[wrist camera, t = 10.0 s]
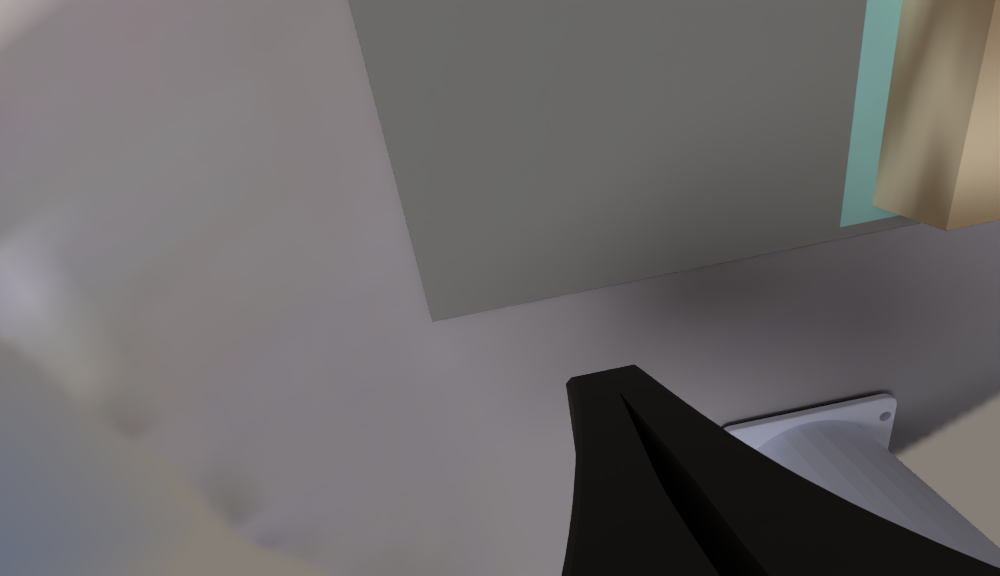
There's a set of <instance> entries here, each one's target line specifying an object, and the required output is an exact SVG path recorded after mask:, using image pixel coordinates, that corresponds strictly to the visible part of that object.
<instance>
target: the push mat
mask: <svg viewBox="0 0 1000 576" xmlns="http://www.w3.org/2000/svg"><path fill="white" fill-rule="evenodd" d="M349 4H350V8H351V12H352V16H353V20H354V23H355V27H356V31H357V35H358V39H359V42H360V46H361V50H362V54H363V58H364V62H365V65H366V69H367V73H368V77H369V81H370V85H371V88H372V92H373V96H374V100H375V104H376V108H377V111H378V115H379V119H380V123H381V127H382V131H383V134H384V138H385V142H386V146H387V150H388V153H389V157H390V161H391V165H392V169H393V173H394V176H395V180H396V184H397V188H398V192H399V196H400V199H401V203H402V207H403V211H404V215H405V219H406V222H407V226H408V230H409V234H410V238H411V242H412V245H413V249H414V253H415V257H416V261H417V265H418V268H419V272H420V276H421V280H422V284H423V287H424V291H425V295H426V299H427V303H428V307H429V310H430V314H431V318H432V322H434V321H439V320H444V319H449V318H454V317H458V316H463V315H468V314H473V313H478V312H483V311H488V310H493V309H498V308H503V307H508V306H513V305H518V304H523V303H528V302H533V301H538V300H542V299H547V298H552V297H557V296H562V295H567V294H572V293H577V292H582V291H587V290H592V289H597V288H602V287H607V286H612V285H617V284H621V283H626V282H631V281H636V280H641V279H646V278H651V277H656V276H661V275H666V274H671V273H676V272H681V271H686V270H691V269H696V268H701V267H705V266H710V265H715V264H720V263H725V262H730V261H735V260H740V259H745V258H750V257H755V256H760V255H765V254H770V253H775V252H780V251H785V250H789V249H794V248H799V247H804V246H809V245H814V244H819V243H824V242H829V241H834V240H839V239H844V238H849V237H854V236H859V235H864V234H868V233H873V232H878V231H883V230H888V229H893V228H898V227H903V226H908V225H913V224H918V223H921V222H918V221H915V220H913V219H910V218H907V217H904V216H901V215H898V214H895V213H892V212H889V211H886V210H883V209H880V208H878V207H875V206H872V205H873V198H874V192H875V185H876V178H877V171H878V164H879V157H880V150H881V143H882V137H883V130H884V123H885V116H886V109H887V102H888V95H889V89H890V82H891V75H892V68H893V61H894V54H895V47H896V40H897V34H898V27H899V20H900V13H901V6H902V0H349Z"/></svg>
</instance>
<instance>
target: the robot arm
mask: <svg viewBox="0 0 1000 576" xmlns="http://www.w3.org/2000/svg"><path fill="white" fill-rule="evenodd" d="M566 387H567V394H568V401H569V409H570V416H571V423H572V430H573V437H574V444H575V451H576V466H575V480H574V494H573V505H572V514H571V522H570V529H569V536H568V542H567V549H566V555H565V561H564V566H563V571H562V576H1000V548H999V547H997V546H996V545H995V544H994V543H993V542H992V541H990V540H989V539H988V538H987V537H986V536H985V535H984V534H983V533H982V532H980V531H979V530H978V529H977V528H976V527H975V526H973V525H972V524H971V523H970V522H969V521H968V520H967V519H966V518H964V517H963V516H962V515H961V514H960V513H959V512H958V511H956V510H955V509H954V508H953V507H952V506H951V505H950V504H948V503H947V502H946V501H945V500H944V499H943V498H942V497H940V496H939V495H938V494H937V493H936V492H935V491H934V490H933V489H931V488H930V487H929V486H928V485H927V484H926V483H925V482H923V481H922V480H921V479H920V478H919V477H918V476H917V475H915V474H914V473H913V472H912V471H911V470H910V469H909V468H907V467H906V466H905V465H904V464H903V463H902V462H901V461H899V460H898V459H897V458H896V457H895V456H894V455H893V454H892V453H890V452H889V451H888V446H889V441H890V437H891V432H892V427H893V422H894V417H895V412H896V407H897V401H896V399H895V398H893V397H892V396H891V395H889V394H879V395H874V396H869V397H864V398H860V399H855V400H850V401H845V402H841V403H836V404H831V405H826V406H822V407H817V408H812V409H807V410H803V411H798V412H793V413H788V414H783V415H779V416H774V417H769V418H764V419H760V420H755V421H750V422H745V423H741V424H736V425H731V426H728V427H725V428H724V429H723V428H722V427H720V426H719V425H717V424H716V423H714V422H713V421H711V420H710V419H708V418H707V417H705V416H704V415H702V414H701V413H700V412H698V411H697V410H695V409H694V408H693V407H691V406H690V405H688V404H687V403H686V402H684V401H683V400H682V399H680V398H679V397H677V396H676V395H675V394H673V393H672V392H671V391H669V390H668V389H667V388H665V387H664V386H663V385H661V384H660V383H659V382H657V381H656V380H655V379H653V378H652V377H651V376H649V375H648V374H647V373H646V372H644V371H643V370H641V369H640V368H639V367H637V366H636V365H630V366H625V367H620V368H615V369H610V370H606V371H601V372H596V373H591V374H586V375H581V376H576V377H572V378H570V380H569V381H568V382H567V383H566Z"/></svg>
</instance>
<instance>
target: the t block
mask: <svg viewBox="0 0 1000 576" xmlns="http://www.w3.org/2000/svg"><path fill="white" fill-rule="evenodd" d="M872 206H875V207H878V208H880V209H883V210H886V211H889V212H892V213H895V214H898V215H901V216H904V217H907V218H910V219H913V220H915V221H918V222H921V223H924V224H927V225H930V226H933V227H936V228H939V229H942V230H945V231H948V230H953V229H958V228H963V227H968V226H973V225H978V224H983V223H988V222H993V221H997V220H1000V0H902V6H901V13H900V20H899V27H898V34H897V40H896V47H895V54H894V61H893V68H892V75H891V82H890V89H889V95H888V102H887V109H886V116H885V123H884V130H883V137H882V143H881V150H880V157H879V164H878V171H877V178H876V185H875V192H874V198H873V205H872Z"/></svg>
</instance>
